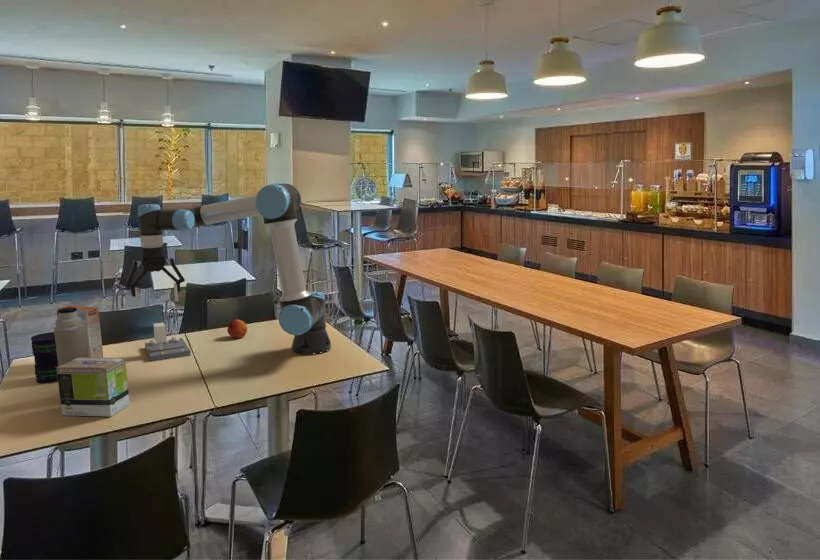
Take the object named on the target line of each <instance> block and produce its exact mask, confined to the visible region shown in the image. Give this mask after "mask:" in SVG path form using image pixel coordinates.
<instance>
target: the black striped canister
mask: <svg viewBox="0 0 820 560" xmlns="http://www.w3.org/2000/svg"><path fill="white" fill-rule="evenodd" d="M30 341H31V349H32V355H33V356H34V357H33V359H34V375H35V378H36V380H35V381H36V383H37V384H44V385H45V384H46V383H48V384H55V382H56V383H58V377H57V368H56V367H58V360H57V352H56V343H55V335H54V331H53V332H52V331H51V332H50V331H49V332H43V333H38V334H35V335H33V336H31V338H30ZM46 385H47V384H46Z"/></svg>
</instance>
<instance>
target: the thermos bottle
mask: <svg viewBox="0 0 820 560" xmlns="http://www.w3.org/2000/svg"><path fill="white" fill-rule="evenodd" d="M76 311H77V308H75V307H68V308H62V309H59V310H58V313H59V314H58V317H59V319H58V318H57V319H56V320H55V327H54V328H53V332H54V335H55V343H56V352H57V360H58V366H61V365H63V364H65V363H67V362H70V361H72V360H74V359H76V358H79V357H87V358H88V355H87V346H86V337H85V328H84V325H83V324H81V321H82V320H81V318H80V317H77V312H76Z"/></svg>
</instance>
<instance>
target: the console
mask: <svg viewBox="0 0 820 560" xmlns="http://www.w3.org/2000/svg"><path fill="white" fill-rule="evenodd" d="M144 348H146V349H145V351H146V354H147V356H148V359H149V361H150V362H157V361H156V360H158V361H163V359H164V360H169V359H170V358H171V359H176V358H183V357H190V356H192V355H191V349H190V348H189V346H188V345H187V343H186V342H185V340H184V339H183V338H182V337H180V336H174V337H171V339H169V338H167V337H166V342H163V350H160V349H159V342H158V343H156V341H155V339H151V340H150V341H149V342H144Z"/></svg>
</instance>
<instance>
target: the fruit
mask: <svg viewBox="0 0 820 560" xmlns="http://www.w3.org/2000/svg"><path fill="white" fill-rule="evenodd" d="M227 326H228V327H227V329H226V331H227V334H228V335H229V336H230V337H232V338H235V339H241V338H244V337H245V336H246V335H247V332H248V326H247V324H246V323H245V321H243V320H241V319H238V318H237V319H233V320H232V321H230V322H229V324H228V325H227Z"/></svg>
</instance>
